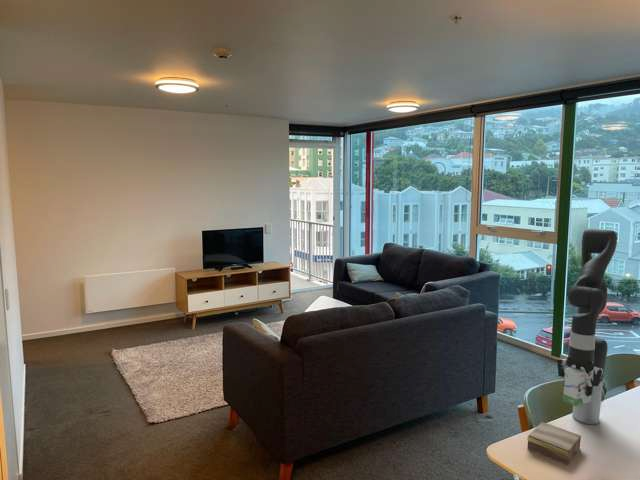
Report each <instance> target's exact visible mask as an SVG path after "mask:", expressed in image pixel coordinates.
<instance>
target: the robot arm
mask: <svg viewBox="0 0 640 480" xmlns="http://www.w3.org/2000/svg"><path fill="white" fill-rule="evenodd" d="M617 244H618V234H617V233H616V231H615V230H611V229H603V228H601V229H600V228H599V229H598V228H586V229H585V230H583V233H582V237H581V270H580V274H579V277H578V279H577V280H576V282H575V283H574V284H573V285H572V286H571V287H570V289H569V290H568V293H567V301H568V303H569V304H570V305H571V306H572V307H575V308H578V309H577V313H575V314H573V316H572V318H571V331H570V335H569V340H568V350H567V351H568V354H567V358H563V357H559V358H558V359H557V362H556V363H557V373H558V377H561V378H563V383H564V382H565V364H566V366H567V367H571V368H573V369H579V370H581V371H582V372H585V377H584V378H585V380H586V381H587V384H588V386H587V394H586V396H588V397H589V396H591V401H590V402H587V403H584V404H581V405H578V406H573V405H572V413H571V415H572V418H573V419H575V420H576V421H578V422H580V423H583V424H586V425H587V424H588V425H596V424H599V422H600V416H601V405H602V394H603V385H604V384H603V383H604V374H605V369H606V368H605V367H606V361H607V354H608V342H607V341H606V340H605V339H603V338H598V337H596V326H597V320H598V317H599V315H600V314H601V313H602V312H603V311H604V310H605V309H606V306H607V298H608V288H607V284H606V283H605V281H604V278H605V275H606V274H605V273H606V270H607V269H608V266H609V265H610V262H611V261H612V259H613V256H614V254H615V252H616V249H617V246H618V245H617ZM592 254H597V255H596V256H594V257H593V255H592ZM592 370H594V373H593V379H592V375H591V374H590V375H589V376H588V373H590V372H591V371H592Z"/></svg>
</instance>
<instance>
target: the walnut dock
mask: <svg viewBox="0 0 640 480" xmlns="http://www.w3.org/2000/svg"><path fill="white" fill-rule="evenodd" d="M581 438H582V436H581V435H580V434H577V433H575V432H572V431H569V430H566V429H564V428H561V427H558V426H555V425H553V424H549V423H547V422H544V421H541V422H540V423H539V424H538V425H537V426H536V427H535V428H534V429H533V430H532V431H531V432H530V433H529V434H528V436H527V446H526V447H527V450H531V451H533V452H535V453H537V454H540V455H542V456H545V457H547V458H549V459H552V460H555V461H557V462H560V463H562V464H564V465H566V466H567V465H569V463H570V462H571V461H572V459H573V458H574V457H575V456H576V454H577V453H578V452H579V451H580V450H581V449H580V448H581Z"/></svg>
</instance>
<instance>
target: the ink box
mask: <svg viewBox="0 0 640 480" xmlns="http://www.w3.org/2000/svg"><path fill="white" fill-rule="evenodd" d="M564 373H565V382H564V381H563V395H562V401H563V402H565V403H567V404H569V405H572V407H573V406H578V405H581V404H584V403H587V402H590V401H591V396H589V397H588V396H586V394H587V386H588V384H587V381H586V380H585V378H584V377H585V372H582V371H581V370H579V369H573V368H571V367H568V366H567V367H566V368H565V369H564ZM593 373H594V370H592V371H591V372H590V373H588V376H589V375H590V374H591V375H592V379H593Z"/></svg>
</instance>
